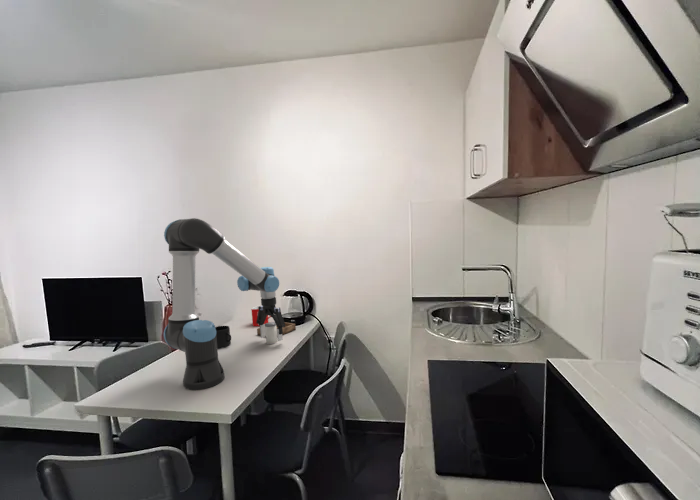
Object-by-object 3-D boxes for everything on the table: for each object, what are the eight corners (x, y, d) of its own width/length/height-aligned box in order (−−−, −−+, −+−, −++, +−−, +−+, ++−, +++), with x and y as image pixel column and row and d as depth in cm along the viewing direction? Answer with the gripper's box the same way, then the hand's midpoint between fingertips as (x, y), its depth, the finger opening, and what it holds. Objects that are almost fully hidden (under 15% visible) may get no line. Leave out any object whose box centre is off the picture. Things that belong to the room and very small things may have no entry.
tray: (275, 338, 187) (274, 332, 187) (257, 334, 195) (256, 328, 195) (295, 329, 200) (295, 323, 200) (278, 326, 208) (278, 321, 208)
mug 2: (251, 326, 213) (250, 309, 212) (257, 322, 221) (256, 306, 220) (269, 326, 210) (268, 309, 210) (275, 322, 218) (274, 305, 218)
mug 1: (224, 350, 174) (223, 332, 173) (207, 347, 179) (205, 330, 178) (238, 343, 182) (237, 326, 181) (221, 341, 187) (220, 325, 187)
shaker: (271, 344, 177) (270, 325, 177) (263, 343, 181) (262, 324, 180) (280, 341, 182) (278, 322, 181) (272, 339, 185) (270, 321, 185)
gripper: (290, 297, 176) (293, 339, 177) (258, 294, 189) (261, 333, 191) (279, 300, 170) (283, 344, 171) (247, 297, 183) (250, 337, 185)
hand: (271, 338), depth 181 cm, fingers open, 12 cm apart
